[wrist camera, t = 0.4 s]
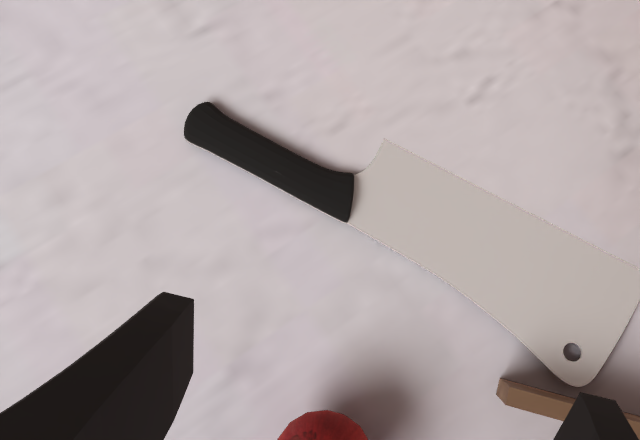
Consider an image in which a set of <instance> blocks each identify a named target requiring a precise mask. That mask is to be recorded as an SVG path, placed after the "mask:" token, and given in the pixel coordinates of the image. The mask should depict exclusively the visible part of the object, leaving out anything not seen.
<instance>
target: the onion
mask: <svg viewBox="0 0 640 440" xmlns="http://www.w3.org/2000/svg"><path fill="white" fill-rule="evenodd" d="M277 440H368V439H367V437H366V435H365V434H364V432H363V430H362V429H361V427H360V426H359V425H358V424H356V423H355V422H353V421H352V420H351V419H349V418H348V417H347V416H345V415H343V414H340V413H336V412H333V411H329V410H324V411H315V412H307V413H305V414H304V415H302V416H300V417H299V418H297V419H295V420H293V421H292V422H290V423H289V425H288V426H287V427H286V429H285V430H284V431H283V433H282V434H281V435H280V437H279V438H278V439H277Z"/></svg>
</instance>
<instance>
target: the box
mask: <svg viewBox="0 0 640 440" xmlns="http://www.w3.org/2000/svg"><path fill="white" fill-rule="evenodd" d="M496 395H497V396H498V397H499V398H500V399H501V400H502V401H503V402H504V404H505V405H508V406H511V407H515V408H519V409H522V410H526V411H529V412H533V413H536V414H540V415H543V416H547V417H551V418H554V419H558V420H561V421H564V420H565V418H566V416H567V415H568V413H569V411H570V409H571V408H572V406H573V404H574V402H575V400H576V399H574V398H571V397H567V396H563V395H560V394H556V393H552V392H549V391H545V390H541V389H538V388H534V387H530V386H527V385H523V384H519V383H516V382H512V381H508V380H505V379H501V378H500V380H499V384H498V389H497V393H496ZM623 414H624V416H625V417H626V419H627V421H628V422H629V424H630V425H631V427H632V429H633V430H634V432H635V434H636V435H637V437H638V439H639V440H640V416H636V415H633V414H629V413H625V412H623Z"/></svg>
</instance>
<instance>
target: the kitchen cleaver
mask: <svg viewBox="0 0 640 440" xmlns="http://www.w3.org/2000/svg"><path fill="white" fill-rule="evenodd" d="M184 136H185V140H186V141H187V142H189V143H190V144H192V145H195V146H197V147H199V148H201V149H204V150H206V151H208V152H210V153H212V154H214V155H215V156H217V157H219V158H221V159H223V160H225V161H227V162H229V163H231V164H233V165H235V166H237V167H239V168H240V169H242V170H244V171H246V172H248V173H250V174H252V175H254V176H256V177H258V178H260V179H261V180H263V181H265V182H267V183H269V184H271V185H272V186H274V187H276V188H278V189H280V190H282V191H283V192H285V193H287V194H289V195H291V196H293V197H294V198H296V199H298V200H300V201H302V202H304V203H306V204H307V205H309V206H311V207H313V208H315V209H317V210H319V211H321V212H323V213H324V214H326V215H328V216H330V217H332V218H334V219H336V220H338V221H340V222H343V223H345V224H349V225H350V226H352V227H354V228H356V229H357V230H359V231H361V232H363V233H364V234H366V235H368V236H369V237H371V238H373V239H375V240H376V241H378V242H380V243H382V244H383V245H385V246H387V247H389V248H390V249H392V250H394V251H396V252H397V253H399V254H401V255H402V256H404V257H406V258H408V259H409V260H411V261H413V262H414V263H416V264H418V265H419V266H421V267H423V268H424V269H426V270H428V271H429V272H431V273H432V274H434V275H436V276H437V277H439V278H440V279H442V280H443V281H445V282H446V283H448V284H449V285H450V286H452V287H453V288H455V289H456V290H457V291H459V292H460V293H462V294H463V295H464V296H466V297H467V298H468V299H470V300H471V301H472V302H473V303H475V304H476V305H477V306H479V307H480V308H481V309H482V310H484V311H485V312H486V313H487V314H489V315H490V316H491V317H492V318H494V319H495V320H496V321H497V322H499V323H500V324H501V325H502V326H503V327H505V328H506V329H507V330H508V331H509V332H510V333H512V334H513V335H514V336H515V337H516V338H517V339H518V340H519V341H520V342H521V343H523V344H524V345H525V346H526V347H527V348H528V349H529V350H530V351H531V352H532V353H533V354H534V355H535V356H536V357H537V358H538V359H539V360H540V361H541V362H542V363H543V364H544V365H545V366H546V367H547V368H548V369H549V370H550V371H551V372H552V373H553V374H554V375H555V376H557V377H558V378H559V379H560V380H562V381H563V382H565V383H566V384H568V385H571V386H574V387H582V386H585V385H587V384H588V383H590V382H591V381H592V380H593V379H594V377H595V376H596V375H597V373H598V372H599V371H600V369H601V368H602V366H603V364H604V363H605V361H606V360H607V358H608V356H609V355H610V353H611V352H612V350H613V348H614V347H615V345H616V343H617V342H618V340H619V338H620V336H621V335H622V333H623V331H624V329H625V328H626V326H627V324H628V322H629V320H630V318H631V316H632V314H633V312H634V310H635V308H636V306H637V305H638V303H639V301H640V269H639V268H637V267H635V266H633V265H631V264H629V263H627V262H625V261H623V260H622V259H620V258H618V257H616V256H614V255H612V254H610V253H608V252H606V251H604V250H602V249H600V248H598V247H596V246H594V245H592V244H590V243H588V242H586V241H584V240H582V239H580V238H578V237H576V236H574V235H573V234H571V233H569V232H567V231H565V230H563V229H561V228H559V227H557V226H555V225H553V224H551V223H549V222H547V221H545V220H543V219H541V218H539V217H537V216H535V215H533V214H531V213H529V212H527V211H525V210H524V209H522V208H520V207H518V206H516V205H514V204H512V203H510V202H508V201H506V200H504V199H502V198H500V197H498V196H496V195H494V194H492V193H490V192H488V191H486V190H484V189H482V188H480V187H478V186H476V185H475V184H473V183H471V182H469V181H467V180H465V179H463V178H461V177H459V176H457V175H455V174H453V173H451V172H449V171H447V170H445V169H443V168H441V167H439V166H437V165H435V164H433V163H431V162H429V161H428V160H426V159H424V158H422V157H420V156H418V155H416V154H414V153H412V152H410V151H408V150H406V149H404V148H402V147H400V146H398V145H396V144H394V143H392V142H390V141H388V140H386V139H384V140H383V142H382V144H381V146H380V148H379V150H378V152H377V154H376V156H375V158H374V159H373V161H372V162H371V164H370V165H369V166H368V167H367V168H366V169H365V170H364V171H362V172H360V173H358V174H355V175H354V174H352V173H343V172H336V171H332V170H329V169H326V168H324V167H321V166H319V165H317V164H315V163H313V162H311V161H309V160H307V159H305V158H303V157H301V156H299V155H297V154H295V153H293V152H292V151H290V150H288V149H286V148H284V147H282V146H280V145H278V144H276V143H275V142H273V141H271V140H269V139H267V138H265V137H263V136H262V135H260V134H258V133H256V132H254V131H252V130H251V129H249V128H247V127H245V126H243V125H242V124H240V123H238V122H236V121H235V120H233V119H231V118H230V117H228V116H227V115H225V114H224V113H223V112H222V111H221V110H220V109H218V108H217V107H216V106H215V105H214V104H212V103H210V102H204V103H201V104H198V105H197V106H196V107H195V108H193V109H192V111H191V112H190V113H189V115H188V117H187V119H186V121H185V127H184ZM568 343H574V344H576V345H577V346H578V347H579V348H580V350H581V356H580V358H579V359H578V360H577V361H574V362H572V361H569V360H567V359H566V358H565V357H564V354H563V348H564V346H565V345H566V344H568Z"/></svg>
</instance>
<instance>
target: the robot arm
mask: <svg viewBox="0 0 640 440" xmlns="http://www.w3.org/2000/svg"><path fill="white" fill-rule="evenodd" d="M193 339H194V299H191V298H187V297H183V296H179V295H174V294H170V293H166V292H162V293H161V294H159V295H157V296H156V297H155V298H154V299H153V300H151V301H150V302H149V303H148V304H147V305H145V306H144V307H143V308H142V309H141V310H140V311H138V312H137V313H136V314H135V315H134V316H132V317H131V318H130V319H129V320H127V321H126V322H125V323H124V324H123V325H121V326H120V327H119V328H118V329H116V330H115V331H114V332H113V333H111V334H110V335H109V336H108V337H106V338H105V339H104V340H103V341H101V342H100V343H99V344H97V345H96V346H95V347H94V348H92V349H91V350H90V351H88V352H87V353H86V354H84V355H83V356H82V357H80V358H79V359H78V360H77V361H75V362H74V363H73V364H71V365H70V366H69V367H67V368H66V369H64V370H63V371H62V372H60V373H59V374H57V375H56V376H54V377H53V378H52V379H50V380H49V381H47V382H46V383H44V384H43V385H42V386H40V387H39V388H37V389H36V390H34V391H33V392H32V393H30V394H29V395H27V396H26V397H24V398H23V399H21V400H20V401H18V402H17V403H15V404H14V405H12V406H11V407H9V408H7V409H6V410H4V411H3V412H1V413H0V440H164V438H165V436H166V434H167V432H168V430H169V429H170V427H171V425H172V423H173V421H174V419H175V416H176V414H177V411H178V409H179V407H180V404H181V402H182V399H183V397H184V394H185V392H186V389H187V387H188V384H189V382H190V379H191V377H192V374H193ZM554 440H639V439H638V437H637V435H636V434H635V432H634V430H633V429H632V427H631V425H630V424H629V422H628V421H627V419H626V417H625V416H624V414H623V412H622V411H621V409H620V408H619V406H618V404H617V403H616V401H615V400H610V399H606V398H602V397H598V396H594V395H590V394H586V393H581V392H580V393H579V395H578V397H577V399H576V400H575V402H574V404H573V406H572V408H571V409H570V411H569V413H568V415H567V416H566V418H565V420H564V422H563V424H562V425H561V427H560V429H559V431H558V432H557V434H556V436H555V438H554Z"/></svg>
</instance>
